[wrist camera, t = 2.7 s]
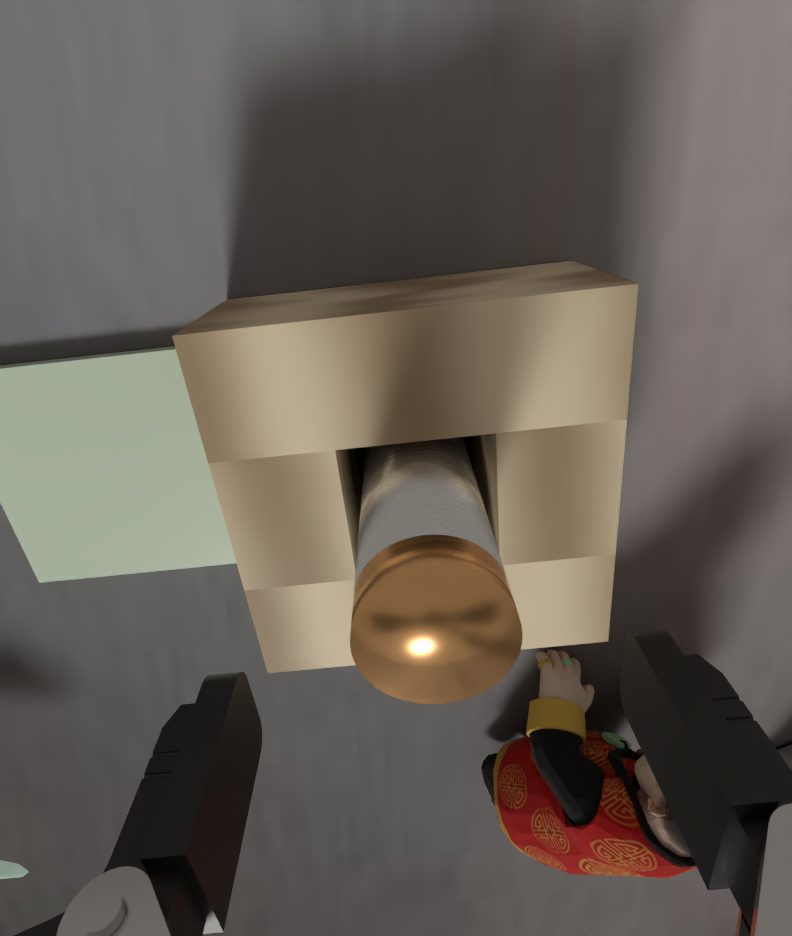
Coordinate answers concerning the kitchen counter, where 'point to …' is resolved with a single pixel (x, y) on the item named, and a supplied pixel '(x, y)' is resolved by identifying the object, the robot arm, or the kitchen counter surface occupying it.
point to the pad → (107, 467)
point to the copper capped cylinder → (429, 578)
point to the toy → (11, 870)
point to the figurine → (581, 789)
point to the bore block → (418, 435)
